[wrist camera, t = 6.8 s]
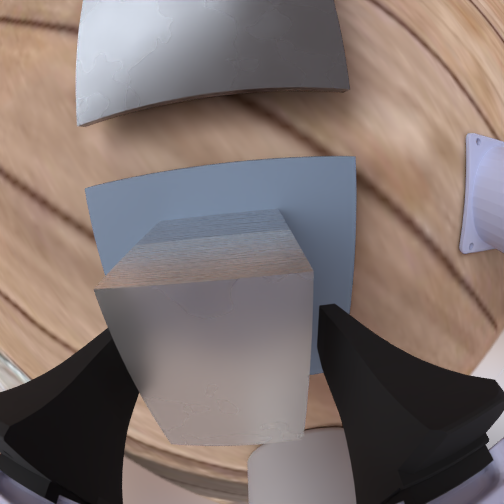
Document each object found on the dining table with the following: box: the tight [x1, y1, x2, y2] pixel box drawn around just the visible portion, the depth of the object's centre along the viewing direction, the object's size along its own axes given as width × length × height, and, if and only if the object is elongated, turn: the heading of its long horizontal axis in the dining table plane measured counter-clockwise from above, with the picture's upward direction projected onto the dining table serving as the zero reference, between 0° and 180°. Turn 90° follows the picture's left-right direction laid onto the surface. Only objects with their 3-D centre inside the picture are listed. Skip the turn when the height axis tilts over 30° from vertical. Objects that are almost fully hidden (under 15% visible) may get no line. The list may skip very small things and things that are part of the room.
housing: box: [94, 209, 314, 446], centre depth 10 cm, size 5×7×6 cm
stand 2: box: [85, 156, 356, 375], centre depth 14 cm, size 12×12×2 cm
